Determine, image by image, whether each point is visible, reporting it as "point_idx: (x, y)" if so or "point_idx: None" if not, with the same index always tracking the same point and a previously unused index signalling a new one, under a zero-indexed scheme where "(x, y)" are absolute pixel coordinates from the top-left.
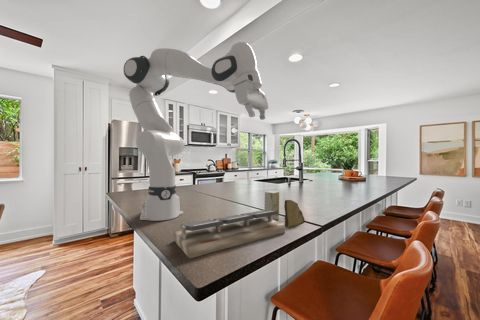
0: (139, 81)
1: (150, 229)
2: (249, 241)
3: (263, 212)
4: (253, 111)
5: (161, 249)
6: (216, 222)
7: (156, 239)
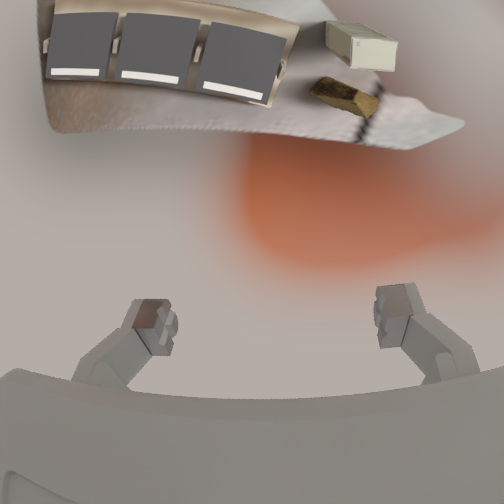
0: None
1: None
2: None
3: (237, 80)
4: (157, 354)
5: (38, 22)
6: (90, 78)
7: None
